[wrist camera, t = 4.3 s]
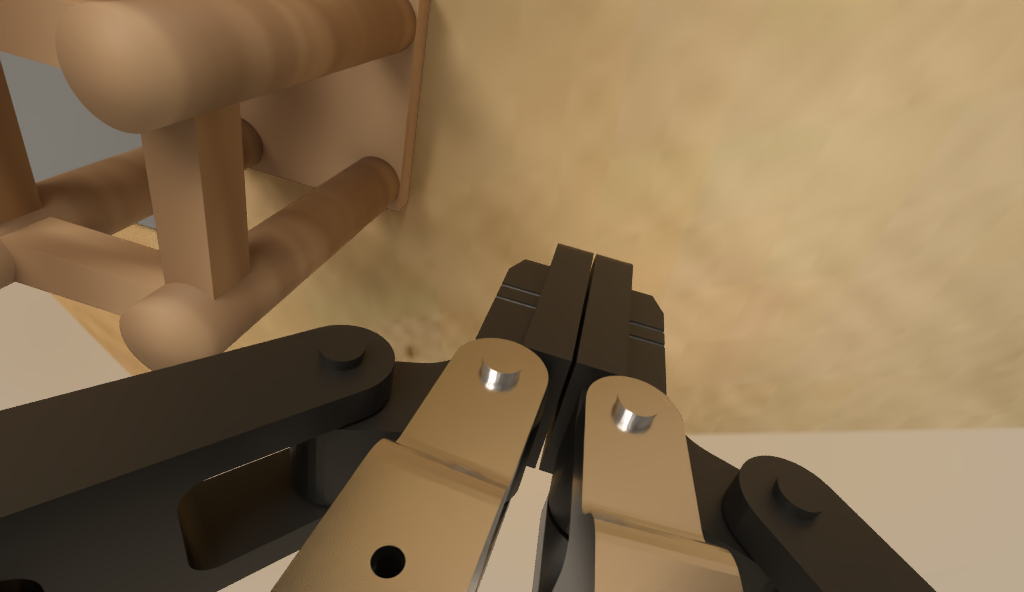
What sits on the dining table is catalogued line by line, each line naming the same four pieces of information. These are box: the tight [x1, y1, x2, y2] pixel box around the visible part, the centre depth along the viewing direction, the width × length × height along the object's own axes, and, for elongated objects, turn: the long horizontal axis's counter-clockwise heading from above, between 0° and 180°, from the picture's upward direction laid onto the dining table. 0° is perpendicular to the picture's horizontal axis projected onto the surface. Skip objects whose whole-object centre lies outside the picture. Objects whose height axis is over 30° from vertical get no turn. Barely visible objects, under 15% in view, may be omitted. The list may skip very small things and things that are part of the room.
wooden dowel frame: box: [0, 0, 431, 371], centre depth 14 cm, size 7×7×11 cm
